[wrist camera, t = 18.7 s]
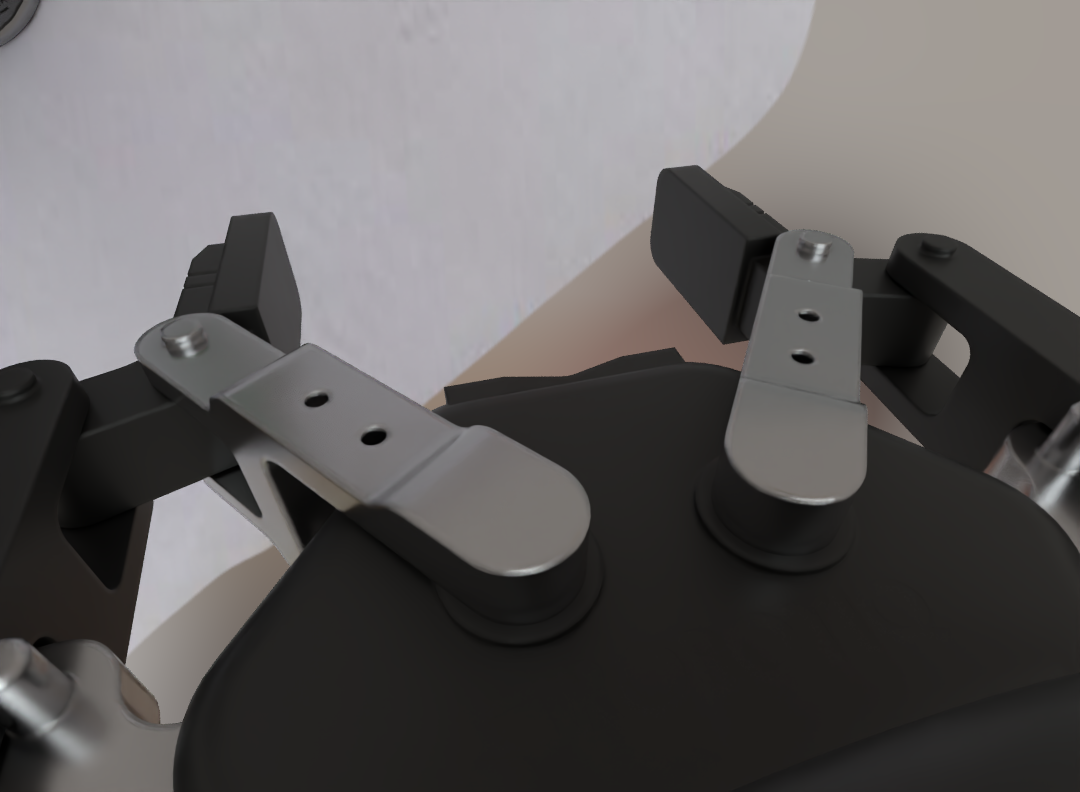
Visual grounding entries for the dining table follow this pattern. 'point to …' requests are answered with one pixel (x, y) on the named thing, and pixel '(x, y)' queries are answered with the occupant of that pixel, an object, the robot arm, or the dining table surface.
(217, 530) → the dining table surface
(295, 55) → the dining table surface
